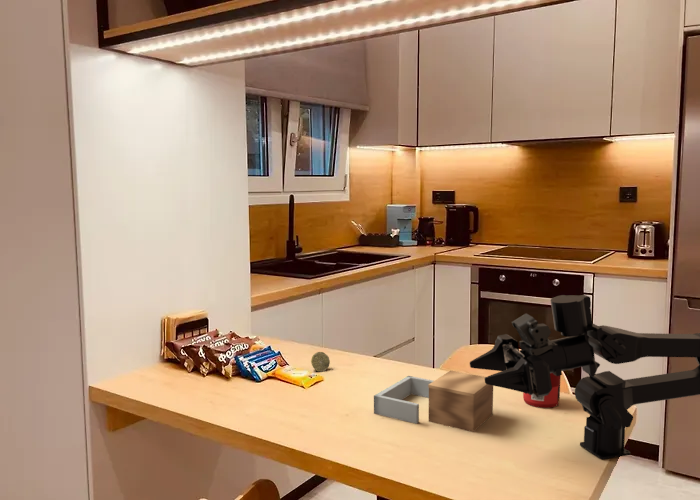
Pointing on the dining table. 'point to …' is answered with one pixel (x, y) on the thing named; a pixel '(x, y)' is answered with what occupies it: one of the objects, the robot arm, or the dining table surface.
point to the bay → (392, 397)
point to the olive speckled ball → (320, 361)
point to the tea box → (460, 400)
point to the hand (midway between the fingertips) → (477, 372)
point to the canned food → (549, 399)
